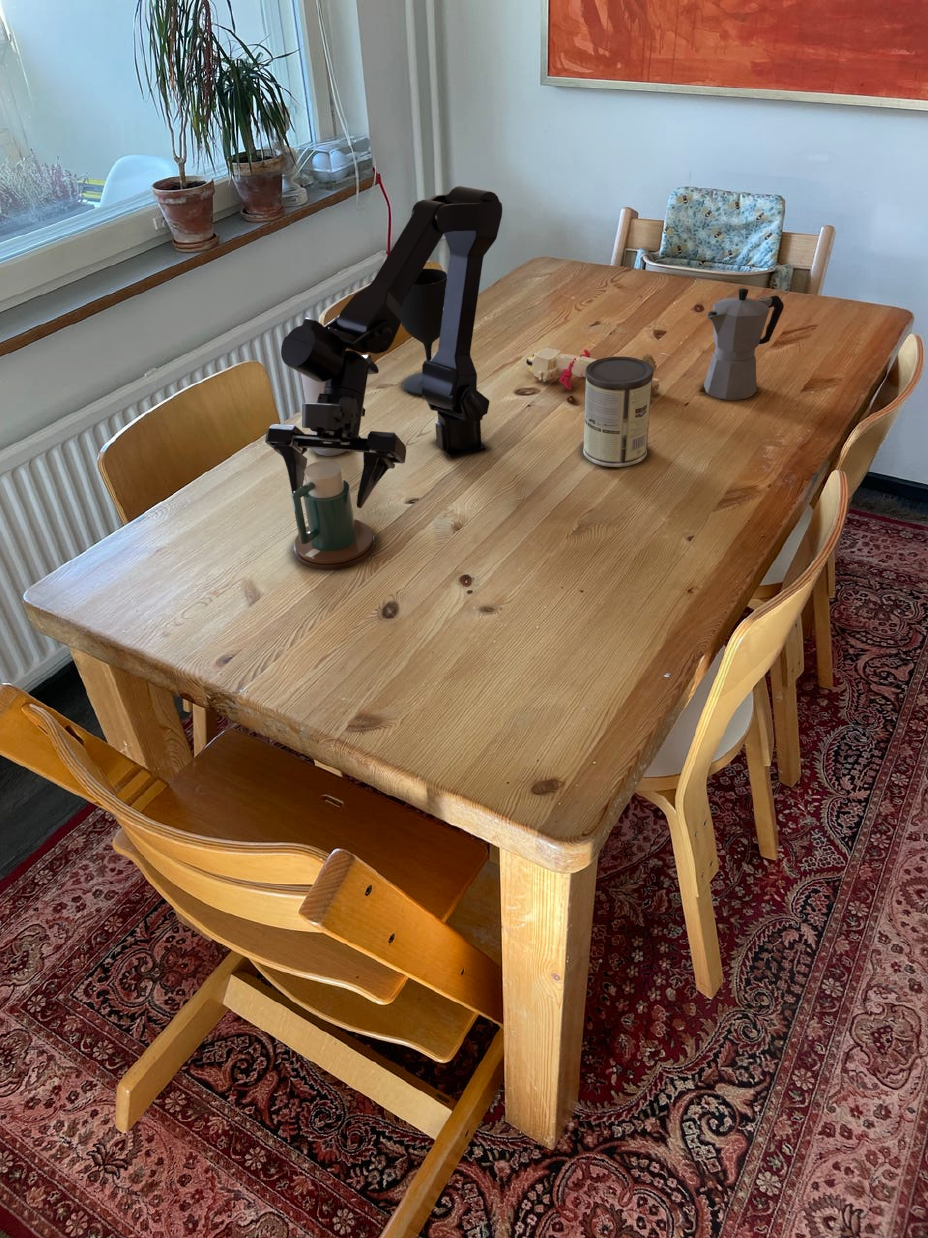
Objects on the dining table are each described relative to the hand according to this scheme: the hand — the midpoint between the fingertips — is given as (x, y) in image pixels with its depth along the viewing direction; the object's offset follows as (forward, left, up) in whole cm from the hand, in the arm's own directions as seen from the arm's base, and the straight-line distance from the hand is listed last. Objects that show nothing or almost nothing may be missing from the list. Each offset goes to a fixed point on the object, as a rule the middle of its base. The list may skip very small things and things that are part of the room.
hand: (327, 504), depth 128 cm
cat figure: (-58, -30, -8) cm, 66 cm away
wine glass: (-33, -44, -8) cm, 56 cm away
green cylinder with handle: (0, 0, -7) cm, 7 cm away
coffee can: (-49, -5, -8) cm, 50 cm away
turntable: (0, 0, -7) cm, 7 cm away
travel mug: (-9, -29, -8) cm, 32 cm away
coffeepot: (-80, -15, -8) cm, 82 cm away
